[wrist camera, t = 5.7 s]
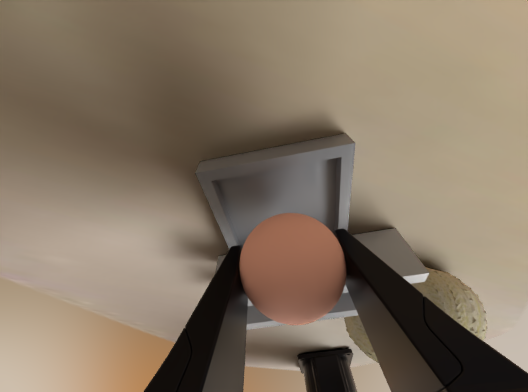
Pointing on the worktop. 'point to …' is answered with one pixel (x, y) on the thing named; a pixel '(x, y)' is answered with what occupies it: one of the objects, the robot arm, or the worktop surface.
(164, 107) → the worktop surface
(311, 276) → the ball
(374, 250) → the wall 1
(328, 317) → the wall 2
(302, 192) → the coaster
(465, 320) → the sea urchin shell
